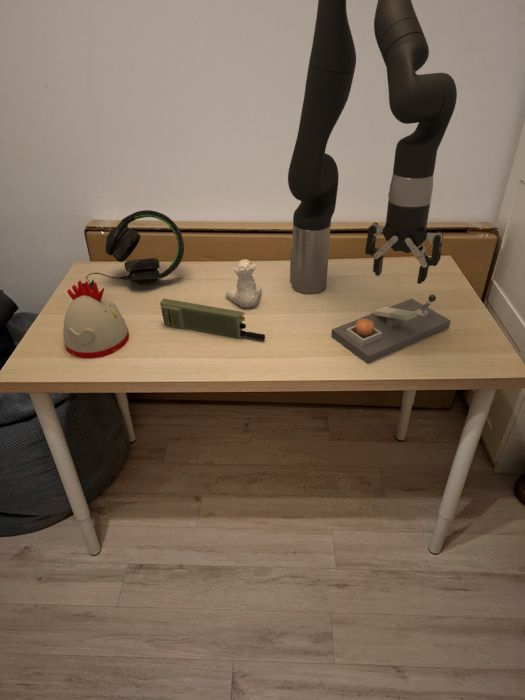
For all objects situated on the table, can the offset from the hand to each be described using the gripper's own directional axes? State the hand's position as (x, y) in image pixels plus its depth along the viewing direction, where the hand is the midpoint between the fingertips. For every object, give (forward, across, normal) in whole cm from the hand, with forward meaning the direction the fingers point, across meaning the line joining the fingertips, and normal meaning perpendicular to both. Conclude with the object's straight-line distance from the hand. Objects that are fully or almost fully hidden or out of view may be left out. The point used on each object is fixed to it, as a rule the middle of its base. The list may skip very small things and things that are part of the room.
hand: (398, 278), depth 98 cm
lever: (+13, -4, -12) cm, 19 cm away
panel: (+16, +1, -4) cm, 16 cm away
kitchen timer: (+14, +58, +30) cm, 67 cm away
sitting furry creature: (+15, +37, -1) cm, 40 cm away
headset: (+14, +68, +6) cm, 70 cm away
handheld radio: (+15, +37, +15) cm, 43 cm away
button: (+12, +5, +3) cm, 14 cm away
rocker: (+12, +1, -5) cm, 12 cm away
